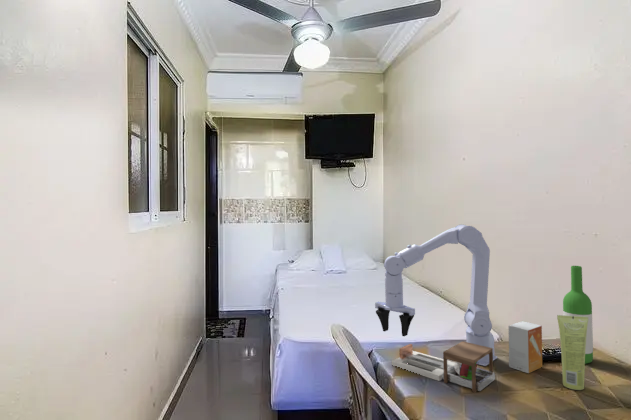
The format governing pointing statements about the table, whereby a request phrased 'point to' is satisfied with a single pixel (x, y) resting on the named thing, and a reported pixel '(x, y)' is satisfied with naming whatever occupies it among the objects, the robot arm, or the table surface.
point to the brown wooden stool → (467, 358)
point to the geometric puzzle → (465, 370)
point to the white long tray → (451, 370)
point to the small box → (525, 346)
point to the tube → (573, 349)
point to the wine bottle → (580, 307)
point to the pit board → (422, 366)
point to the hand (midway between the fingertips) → (395, 333)
